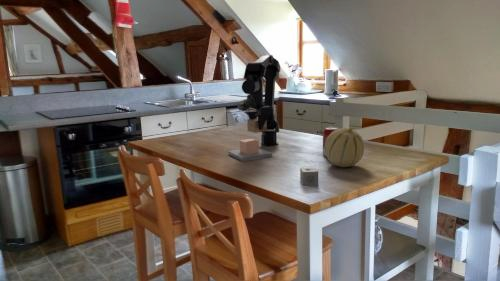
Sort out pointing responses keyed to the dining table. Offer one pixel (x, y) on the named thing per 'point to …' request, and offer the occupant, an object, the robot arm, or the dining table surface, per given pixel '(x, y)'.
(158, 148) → the dining table surface
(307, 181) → the grey cube
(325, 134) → the soda can
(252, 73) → the robot arm
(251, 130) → the walnut brick
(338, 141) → the cantaloupe
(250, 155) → the base board
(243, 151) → the terracotta brick
